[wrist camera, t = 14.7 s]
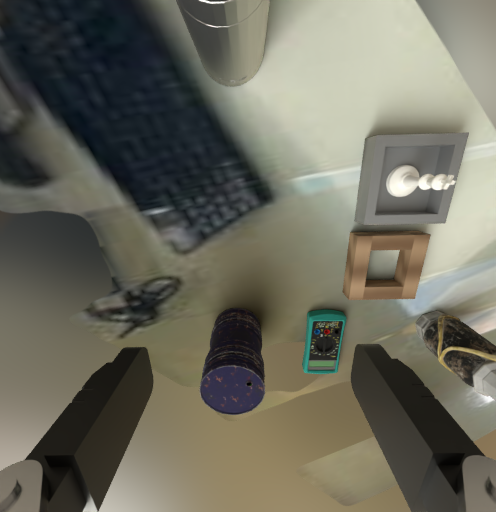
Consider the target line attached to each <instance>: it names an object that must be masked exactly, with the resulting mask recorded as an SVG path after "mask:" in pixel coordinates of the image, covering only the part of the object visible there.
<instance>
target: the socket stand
mask: <svg viewBox="0 0 496 512" xmlns="http://www.w3.org/2000/svg"><path fill="white" fill-rule="evenodd" d="M429 239H430V235H429V234H426V233H423V232H420V231H384V232H350V238H349V246H348V254H347V262H346V270H345V278H344V285H343V293H344V294H345V296H346V297H347V298H348V299H349V300H369V299H415V296H416V292H417V288H418V284H419V280H420V276H421V272H422V267H423V263H424V259H425V255H426V251H427V247H428V243H429ZM371 250H400V252H399V257H398V262H397V266H396V271H395V276H394V280H366V276H367V269H368V263H369V257H370V251H371Z"/></svg>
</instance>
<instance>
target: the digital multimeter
mask: <svg viewBox="0 0 496 512" xmlns="http://www.w3.org/2000/svg"><path fill="white" fill-rule="evenodd" d="M346 319H347V318H346V316H345V315H344V313H343V312H340V311H336V310H329V309H322V310H315V311H311V312H308V313H307V331H306V342H305V351H304V357H303V363H302V366H303V370H304V372H305V373H313V374H329V373H337V372H338V365H339V355H340V348H341V342H342V337H343V332H344V327H345V323H346ZM329 351H330V352H329Z"/></svg>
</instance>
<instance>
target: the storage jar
mask: <svg viewBox="0 0 496 512" xmlns="http://www.w3.org/2000/svg"><path fill="white" fill-rule="evenodd" d="M261 349H262V335H261V330H260V323H259V320H258V318H257V317H256V316H255V315H254V314H253V313H252V312H250V311H248V310H246V309H242V308H232V309H228V310H226V311H224V312H222V313H221V314H220V315H219V316H218V317H217V319H216V321H215V325H214V328H213V331H212V335H211V340H210V351H209V353H208V355H207V357H206V360H205V365H204V368H203V373H202V380H201V384H200V395H201V398H202V400H203V401H204V402H205V404H206V405H207V406H208V407H210V408H211V409H213V410H215V411H217V412H219V413H223V414H228V415H238V414H244V413H247V412H249V411H252V410H253V409H255V408H256V407H257V406H258V405H259V404H260V403H261V402H262V400H263V398H264V395H265V385H264V377H265V376H264V362H263V359H262V355H261Z"/></svg>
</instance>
